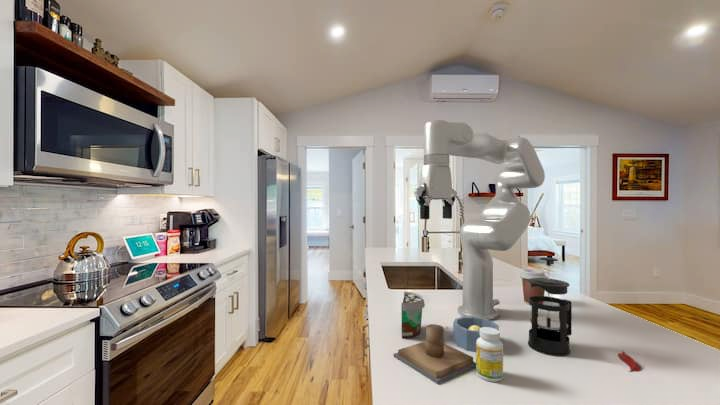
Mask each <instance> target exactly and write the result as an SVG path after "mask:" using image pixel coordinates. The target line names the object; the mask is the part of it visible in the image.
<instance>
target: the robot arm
mask: <svg viewBox="0 0 720 405" xmlns="http://www.w3.org/2000/svg"><path fill="white" fill-rule="evenodd" d="M472 128H473V127H471V126H470V125H469V124H468V123H466V122H461V121H460V122H457V121H456V122H454V121H453V122H451V121H450V122H449V121H447V120H444V119H432V120H428V121H426V122H425V124H424V126H423V166H421V168H420V175H419V182H418V183H419V184H418V185H419V186H418V187H417V188H415V189H414V190H413V193H414V196H415V200H416V202H418V203H417V204H418V206H419V207H420V208H419V219H420V220H429V219H430V205H429V204H430V201H431V200H438V201H439V200H441V202H442V203H443V206H442V219H446V220H448V219H449V220H450V219H451V220H452V219H453V206H454V203H455V201H456V197H457V194H458V192H457V191H456V190H455V189H454V188H453V182H452V181H453V179H452V172H451V167H450V156H454V157H462V158H469V159H470V158H472V159H480V160H483V161H486V162H489V163H491V164H496V165H507V164H516V163H521V165H513V166H506V167H503V168H500V169H499V170H498V171H497V172H496V174H495V177H494V183H495V196H493V198H492V199H491V200H490V201H489V202H488V203H487V204H486V205H485V206H484V207H483V208H482V210H481V212H480V214H479V218H478V219H477V218H475V219H469V220H468V219H467V220H466V221H465V222H463V224H462V225H461V226H460V228H459V238H460V239H459V240H460V244H461V251H462V305H460V306H458V307H457V313H458V314H460V315H461V316H462V317H478V318H484V319H487V320H490V321H492V320H494V319H495V320H496V319H497V318H498V317H499V312H498V311H497V310H496V309H495V306H497V305H500V303H501V301H500V299H499V298H495V299H494V260H493V258H492V255H491V253H490V252H489V250H490V251H491V250H492V251H497V252H498V251H499V252H505V251H508V250H510V249H511V248H512V247H513V246H514V245H515V244H516V243H517V242H518V240H519V239H520V238H521V236H522V235H523V234H524V232H525V231H526V230H527V229H528V227H529V225H530V221H531V212H530V210H529V207H528V206H527V205H526V204H524V203H521V202H519V199H518V196H517V195H516V193H515V192H514V190H515V189H516V190H517V189H535V188H538V187H541V186H542V185H543V184H544V182H545V179H546V178H545V177H546V176H545V174H546V173H545V170H544V167H543V165H542V163H541V160H540V158H539V156H538V154H537V151H536V150H535V148H534V146H533V145H532V143H531V142H530V140H528V138H526V137H523V136H521V137H515V138H509V139H501V138H498V137H496V136H493V135H491V134H487V133H481V132H480V133H478V132H477V133H474V130H473V129H472Z"/></svg>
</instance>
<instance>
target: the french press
mask: <svg viewBox="0 0 720 405" xmlns="http://www.w3.org/2000/svg"><path fill="white" fill-rule="evenodd" d="M539 260H540V261H546V266H547V277H548V278H531V279H529V282H530V283H531V287H536V286H540V287H541V288H542V289H544V290H545V292H547V296H546V295H544V296H532V297H529V306H531V318H529V321H530V324H531V328H530V329H529V330H528V340H527V346H528V347H529V348H531V349H532V350H534V351H536V352H538V353H540V354H543V355H547V356H553V357H567V356H569V355H571V348H570V337H569V336H572V328H573V327H572V318H573V317H572V311H573V310H572V301H571V300H568V299H562V298H559V297H553V296H550V295H558V296H559V295H567V294H568V287H570V283H569V282H567V281H565V280H560V279H556V278H555V279H554V278H550V267H551V264H552V262H558V261H559V259H557V258H556V257H555V258H553V257H545V256H544V257H543V256H542V257H540V258H539ZM538 301H544V302H547V304H539V303H538ZM550 303H553V304H557V305H550ZM539 310H542V311H547V317H545V316H539ZM550 312H553V313H554V312H555V313H557V312H558V319H557V318H551V317H550Z"/></svg>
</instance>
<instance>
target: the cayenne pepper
mask: <svg viewBox="0 0 720 405" xmlns="http://www.w3.org/2000/svg"><path fill="white" fill-rule="evenodd" d="M617 357H618V358H619V359H620V360H621V361H622V362H624V363H625V364H626V365H627V366H629V369H630V370H629V371H628V373H629V372H637V373H638V372H641V370H642V366H641V365H640V364H639V363H638V362H636V361H635V360H634V358H632V357H631V356H630V355H627V354H626V352H625V351H624V350H623V351H622V352H618V353H617Z"/></svg>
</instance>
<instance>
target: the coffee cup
mask: <svg viewBox="0 0 720 405" xmlns="http://www.w3.org/2000/svg"><path fill="white" fill-rule="evenodd" d="M519 277H520V278H521V280H522V281H521V282H522V293H523V303H524V304H525V305H529V297H532V296H545V292H546V291H545V290H544V289H542V288H541V287H540V286H536V287H531V283H530V282H529V279H531V278H548V275H546V274H545V271H543V270H539V269H527V268H526V269H524V270H523V271H522V273H521V274H520V275H519ZM538 303H539V304H544V303H545V301H538ZM544 305H545V304H544ZM529 306H530V305H529Z"/></svg>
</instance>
